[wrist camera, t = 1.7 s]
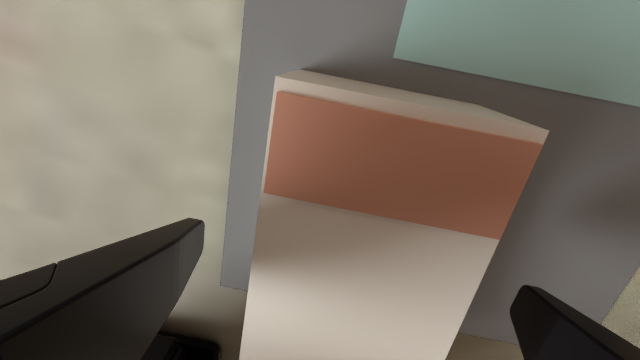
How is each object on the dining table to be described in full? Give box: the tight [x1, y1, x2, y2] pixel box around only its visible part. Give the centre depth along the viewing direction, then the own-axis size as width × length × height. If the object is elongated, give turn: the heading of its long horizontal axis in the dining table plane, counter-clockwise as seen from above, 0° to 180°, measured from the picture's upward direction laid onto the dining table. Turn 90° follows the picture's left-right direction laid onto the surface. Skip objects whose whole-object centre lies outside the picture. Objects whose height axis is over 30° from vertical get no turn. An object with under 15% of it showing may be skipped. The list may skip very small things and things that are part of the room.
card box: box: [239, 69, 549, 360], centre depth 10 cm, size 9×6×4 cm, turn 169°
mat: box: [220, 0, 640, 345], centre depth 11 cm, size 20×16×1 cm
